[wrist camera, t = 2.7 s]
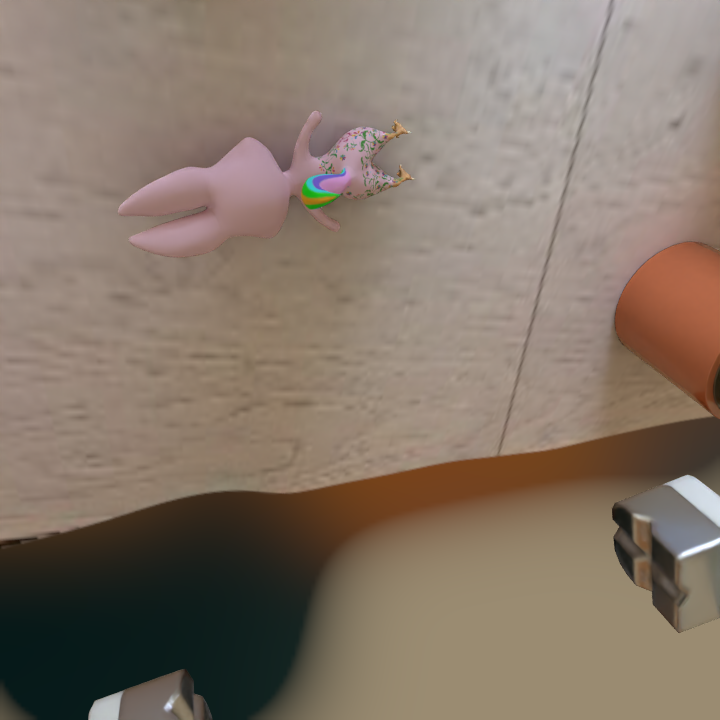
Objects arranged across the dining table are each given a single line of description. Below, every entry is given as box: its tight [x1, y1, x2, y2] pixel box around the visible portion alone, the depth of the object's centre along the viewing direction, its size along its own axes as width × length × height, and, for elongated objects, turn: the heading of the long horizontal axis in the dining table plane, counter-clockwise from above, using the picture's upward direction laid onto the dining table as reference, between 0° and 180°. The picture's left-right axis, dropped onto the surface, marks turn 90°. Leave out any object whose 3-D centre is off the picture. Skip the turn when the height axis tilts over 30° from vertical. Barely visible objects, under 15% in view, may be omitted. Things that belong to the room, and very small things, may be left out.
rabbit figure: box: [118, 111, 414, 257], centre depth 30 cm, size 6×6×15 cm
